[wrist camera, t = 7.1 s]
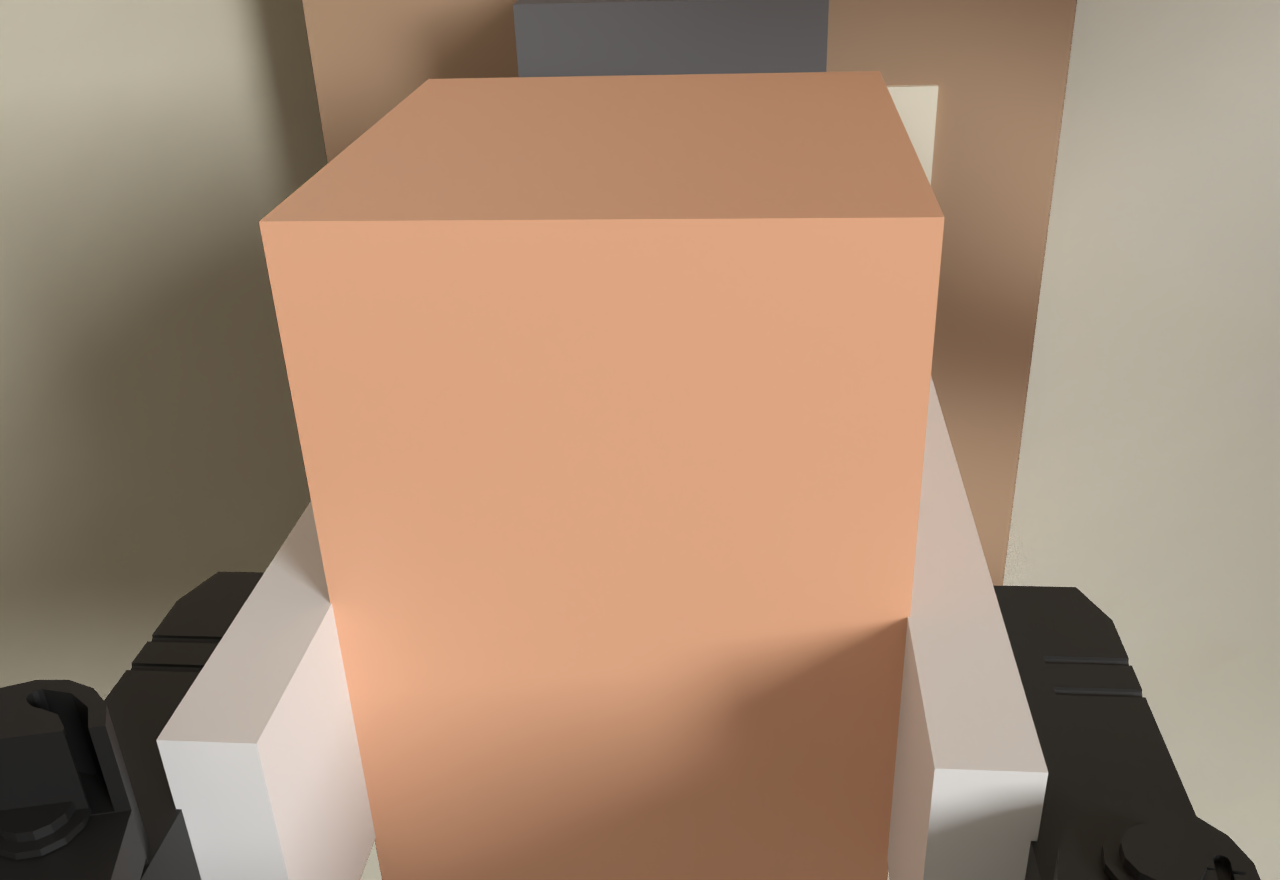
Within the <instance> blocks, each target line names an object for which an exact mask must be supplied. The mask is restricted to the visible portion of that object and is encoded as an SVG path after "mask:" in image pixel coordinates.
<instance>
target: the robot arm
mask: <svg viewBox="0 0 1280 880" xmlns="http://www.w3.org/2000/svg"><path fill="white" fill-rule="evenodd" d="M152 636H153V639H152V642H147V643H146V644H145V646H144V647H143V648H142V650H141V651H140V653H139V654H138V655H137V657H136V658H135V659H134V661H133V662H132V669H131V670H126V672H125V673H124V674H123V676H122V677H121V678H120V680H119V681H118V683H117V684H116V685H115V687H114V688H113V689H112V691H111V692H110V694H109V695H108V696H107V698H106V699H105V700H104V701H103V699H102V698H101V697H100V696H99V694H98V693H97V692H96V691H95V690H94V688H91V687H88V686H85V685H82V684H79V683H76V682H73V681H70V680H34V681H30V682H25V683H21V684H17V685H12V686H8V687H3V688H0V880H360V878H361V876H362V873H363V870H364V868H365V865H366V862H367V860H368V857H369V854H370V852H371V849H372V846H373V844H374V841H375V838H376V836H375V831H374V826H373V820H372V815H371V810H370V804H369V799H368V794H367V788H366V783H365V778H364V772H363V767H362V762H361V756H360V751H359V746H358V740H357V735H356V730H355V724H354V719H353V714H352V708H351V703H350V698H349V692H348V687H347V681H346V676H345V671H344V665H343V660H342V655H341V649H340V644H339V639H338V633H337V628H336V623H335V617H334V612H333V607H332V603H330V599H329V593H328V588H327V583H326V577H325V572H324V567H323V561H322V556H321V551H320V545H319V540H318V535H317V529H316V524H315V519H314V513H313V508H312V503H311V501H310V503H309V504H308V506H307V507H306V509H305V511H304V512H303V514H302V515H301V517H300V518H299V520H298V521H297V523H296V525H295V526H294V528H293V529H292V531H291V532H290V534H289V535H288V537H287V538H286V540H285V542H284V543H283V545H282V546H281V548H280V549H279V551H278V552H277V554H276V555H275V557H274V559H273V560H272V562H271V563H270V565H269V566H268V568H267V569H266V571H265V572H264V573H254V572H217V573H216V574H215V575H213V576H212V577H210V578H209V579H208V580H206V581H205V582H203V583H202V584H200V585H199V586H198V587H196V588H195V589H193V590H192V591H191V592H189V593H188V594H186V595H185V596H184V597H182V598H181V599H179V600H178V601H177V602H176V603H175V605H174V606H173V607H172V609H171V610H170V612H169V613H168V614H167V616H166V617H165V618H164V620H163V621H162V623H161V624H160V625H159V627H158V628H157V629H156V631H155V632H154V633H153V635H152ZM1128 659H1129V658H1128V656H1127V654H1126V651H1125V649H1124V647H1123V644H1122V642H1121V640H1120V637H1119V635H1118V633H1117V630H1116V628H1115V626H1114V623H1113V621H1112V620H1111V619H1110V618H1109V617H1108V616H1107V615H1106V614H1105V613H1104V612H1102V611H1101V610H1100V609H1099V608H1098V607H1097V606H1096V605H1095V604H1094V603H1093V602H1091V601H1090V600H1089V599H1088V598H1087V597H1086V596H1085V595H1084V594H1083V593H1082V592H1080V591H1079V590H1078V589H1077V588H1076V587H1036V586H993V583H992V580H991V577H990V573H989V570H988V566H987V563H986V560H985V556H984V553H983V550H982V546H981V543H980V539H979V536H978V533H977V529H976V526H975V522H974V519H973V516H972V512H971V509H970V506H969V502H968V499H967V495H966V492H965V489H964V485H963V482H962V478H961V475H960V472H959V468H958V465H957V461H956V458H955V455H954V451H953V448H952V445H951V441H950V438H949V434H948V431H947V428H946V424H945V421H944V417H943V414H942V411H941V407H940V404H939V400H938V397H937V394H936V390H935V387H934V384H933V380H932V377H931V380H930V392H929V403H928V415H927V427H926V438H925V450H924V461H923V473H922V484H921V496H920V508H919V519H918V531H917V542H916V554H915V565H914V577H913V589H912V600H911V612H910V617H908V620H907V631H906V643H905V655H904V667H903V679H902V690H901V702H900V714H899V726H898V738H897V749H896V761H895V773H894V785H893V797H892V808H891V820H890V832H889V844H888V855H887V862H888V871H889V879H890V880H1260V877H1259V875H1258V872H1257V870H1256V867H1255V865H1254V863H1253V862H1252V861H1251V860H1250V859H1249V858H1248V857H1247V855H1246V854H1245V853H1244V852H1243V851H1242V850H1241V849H1240V848H1239V847H1238V846H1237V845H1236V844H1235V843H1234V841H1233V840H1232V839H1231V838H1230V837H1229V836H1227V835H1226V834H1224V833H1223V832H1221V831H1219V830H1218V829H1216V828H1214V827H1213V826H1211V825H1210V824H1208V823H1206V822H1205V821H1203V820H1201V819H1200V818H1198V817H1197V816H1196V815H1195V812H1194V810H1193V808H1192V805H1191V803H1190V801H1189V798H1188V796H1187V794H1186V791H1185V789H1184V787H1183V784H1182V782H1181V780H1180V777H1179V775H1178V773H1177V770H1176V768H1175V766H1174V763H1173V761H1172V759H1171V756H1170V754H1169V752H1168V749H1167V747H1166V745H1165V742H1164V740H1163V738H1162V735H1161V733H1160V731H1159V728H1158V726H1157V724H1156V721H1155V719H1154V717H1153V714H1152V712H1151V710H1150V707H1149V705H1148V703H1147V700H1146V698H1142V689H1141V686H1140V684H1139V682H1138V679H1137V677H1136V675H1135V672H1134V670H1133V668H1132V666H1129V664H1128Z"/></svg>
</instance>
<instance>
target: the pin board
mask: <svg viewBox="0 0 1280 880" xmlns="http://www.w3.org/2000/svg"><path fill="white" fill-rule="evenodd" d="M302 2H303V9H304V15H305V22H306V28H307V34H308V41H309V47H310V54H311V60H312V67H313V73H314V79H315V86H316V92H317V99H318V105H319V111H320V118H321V124H322V131H323V137H324V144H325V150H326V156H327V163H329V162H330V161H331V160H333V159H334V158H335V157H336V156H337V155H339V154H340V153H341V152H342V151H343V150H345V149H346V148H347V147H348V146H349V145H351V144H352V143H353V142H354V141H355V140H356V139H358V138H359V137H360V136H361V135H362V134H364V133H365V132H366V131H367V130H368V129H370V128H371V127H372V126H373V125H374V124H376V123H377V122H378V121H379V120H380V119H381V118H383V117H384V116H385V115H386V114H387V113H389V112H390V111H391V110H392V109H393V108H395V107H396V106H397V105H398V104H399V103H401V102H402V101H403V100H404V99H405V98H406V97H408V96H409V95H410V94H411V93H412V92H414V91H415V90H416V89H417V88H418V87H420V86H421V85H422V84H423V83H424V82H425V81H427V80H428V79H454V78H511V77H569V76H626V75H684V74H741V73H799V72H856V71H880V72H881V75H882V77H883V79H884V81H885V84H886V86H887V88H888V91H889V93H890V95H891V97H892V100H893V102H894V104H895V106H896V109H897V111H898V113H899V115H900V118H901V120H902V122H903V124H904V127H905V129H906V131H907V133H908V136H909V138H910V140H911V143H912V145H913V147H914V149H915V152H916V154H917V156H918V158H919V161H920V163H921V165H922V167H923V170H924V172H925V174H926V176H927V179H928V181H929V183H930V185H931V188H932V190H933V192H934V195H935V197H936V199H937V201H938V204H939V206H940V208H941V210H942V213H943V215H944V217H945V218H944V230H943V241H942V253H941V265H940V276H939V288H938V299H937V311H936V322H935V334H934V346H933V357H932V369H931V377H932V380H933V384H934V387H935V390H936V394H937V397H938V400H939V404H940V407H941V411H942V414H943V417H944V421H945V424H946V428H947V431H948V434H949V438H950V441H951V445H952V448H953V451H954V455H955V458H956V461H957V465H958V468H959V472H960V475H961V478H962V482H963V485H964V489H965V492H966V495H967V499H968V502H969V506H970V509H971V512H972V516H973V519H974V522H975V526H976V529H977V533H978V536H979V539H980V543H981V546H982V550H983V553H984V556H985V560H986V563H987V566H988V570H989V573H990V577H991V580H992V583H993V586H1003V578H1004V570H1005V563H1006V555H1007V547H1008V539H1009V531H1010V523H1011V515H1012V508H1013V500H1014V492H1015V484H1016V476H1017V468H1018V460H1019V453H1020V445H1021V437H1022V429H1023V421H1024V413H1025V405H1026V397H1027V390H1028V382H1029V374H1030V366H1031V358H1032V350H1033V342H1034V335H1035V327H1036V319H1037V311H1038V303H1039V295H1040V287H1041V280H1042V272H1043V264H1044V256H1045V248H1046V240H1047V232H1048V224H1049V217H1050V209H1051V201H1052V193H1053V185H1054V177H1055V169H1056V162H1057V154H1058V146H1059V138H1060V130H1061V122H1062V114H1063V107H1064V99H1065V91H1066V83H1067V75H1068V67H1069V59H1070V51H1071V44H1072V36H1073V28H1074V20H1075V12H1076V4H1077V0H302Z"/></svg>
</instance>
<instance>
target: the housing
mask: <svg viewBox="0 0 1280 880" xmlns="http://www.w3.org/2000/svg"><path fill="white" fill-rule="evenodd" d="M944 218H945V217H944V215H943V213H942V210H941V208H940V206H939V204H938V201H937V199H936V197H935V195H934V192H933V190H932V188H931V185H930V183H929V181H928V179H927V176H926V174H925V172H924V170H923V167H922V165H921V163H920V161H919V158H918V156H917V154H916V152H915V149H914V147H913V145H912V143H911V140H910V138H909V136H908V133H907V131H906V129H905V127H904V124H903V122H902V120H901V118H900V115H899V113H898V111H897V109H896V106H895V104H894V102H893V100H892V97H891V95H890V93H889V91H888V88H887V86H886V84H885V81H884V79H883V77H882V75H881V72H880V71H856V72H799V73H741V74H684V75H626V76H569V77H511V78H454V79H428V80H427V81H425V82H424V83H423V84H422V85H421V86H420V87H418V88H417V89H416V90H415V91H414V92H412V93H411V94H410V95H409V96H408V97H406V98H405V99H404V100H403V101H402V102H401V103H399V104H398V105H397V106H396V107H395V108H393V109H392V110H391V111H390V112H389V113H387V114H386V115H385V116H384V117H383V118H381V119H380V120H379V121H378V122H377V123H376V124H374V125H373V126H372V127H371V128H370V129H368V130H367V131H366V132H365V133H364V134H362V135H361V136H360V137H359V138H358V139H356V140H355V141H354V142H353V143H352V144H351V145H349V146H348V147H347V148H346V149H345V150H343V151H342V152H341V153H340V154H339V155H337V156H336V157H335V158H334V159H333V160H331V161H330V162H329V163H328V164H327V165H326V166H324V167H323V168H322V169H321V170H320V171H318V172H317V173H316V174H315V175H314V176H312V177H311V178H310V179H309V180H308V181H306V182H305V183H304V184H303V185H302V186H301V187H299V188H298V189H297V190H296V191H295V192H293V193H292V194H291V195H290V196H289V197H287V198H286V199H285V200H284V201H283V202H281V203H280V204H279V205H278V206H277V207H276V208H274V209H273V210H272V211H271V212H270V213H268V214H267V215H266V216H265V217H264V218H262V219H261V220H260V221H259V225H260V230H261V236H262V241H263V246H264V252H265V257H266V263H267V268H268V273H269V279H270V284H271V289H272V295H273V300H274V305H275V311H276V316H277V321H278V327H279V332H280V337H281V343H282V348H283V353H284V359H285V364H286V369H287V375H288V380H289V385H290V391H291V396H292V401H293V407H294V412H295V417H296V423H297V428H298V433H299V439H300V444H301V449H302V455H303V460H304V465H305V471H306V476H307V481H308V487H309V492H310V497H311V503H312V508H313V513H314V519H315V524H316V529H317V535H318V540H319V545H320V551H321V556H322V561H323V567H324V572H325V577H326V583H327V588H328V593H329V599H330V603H332V607H333V612H334V617H335V623H336V628H337V633H338V639H339V644H340V649H341V655H342V660H343V665H344V671H345V676H346V681H347V687H348V692H349V698H350V703H351V708H352V714H353V719H354V724H355V730H356V735H357V740H358V746H359V751H360V756H361V762H362V767H363V772H364V778H365V783H366V788H367V794H368V799H369V804H370V810H371V815H372V820H373V826H374V831H375V836H376V838H375V844H376V850H377V855H378V860H379V866H380V871H381V876H382V880H887V878H888V862H887V855H888V844H889V832H890V820H891V808H892V797H893V785H894V773H895V761H896V749H897V738H898V726H899V714H900V702H901V690H902V679H903V667H904V655H905V643H906V631H907V620H908V617H910V612H911V600H912V589H913V577H914V565H915V554H916V542H917V531H918V519H919V508H920V496H921V484H922V473H923V461H924V450H925V438H926V427H927V415H928V403H929V392H930V380H931V369H932V357H933V346H934V334H935V322H936V311H937V299H938V288H939V276H940V265H941V253H942V241H943V230H944Z"/></svg>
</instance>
